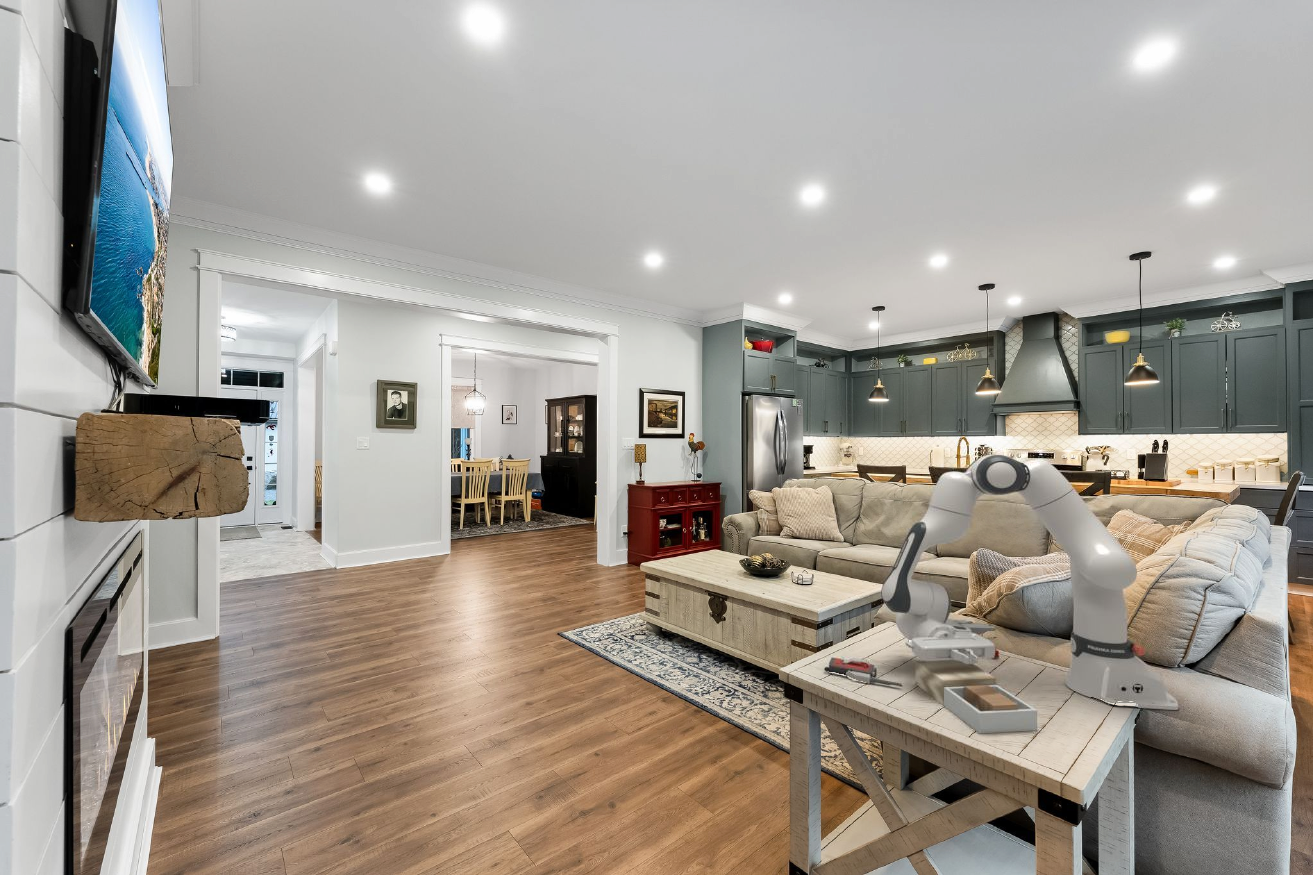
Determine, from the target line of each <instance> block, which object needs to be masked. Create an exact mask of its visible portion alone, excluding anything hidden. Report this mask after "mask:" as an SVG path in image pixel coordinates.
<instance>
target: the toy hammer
mask: <svg viewBox="0 0 1313 875" xmlns="http://www.w3.org/2000/svg"><path fill="white" fill-rule="evenodd" d="M966 620H967V619H951V618H947V620H946V622H945V624H948V625H951V626H958V627H966V628H969V629H971V632H972V633H975V634H978V635H980V634H982V633H985V632H987V631H995V630H996V631H997V627H995V626H993V625H991V624H990V625H985V624H981V623H973V622H972V621H966ZM999 658H1000V651H999V650H997V649H996V648H995V656H994V658H993V659H999Z"/></svg>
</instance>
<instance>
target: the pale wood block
mask: <svg viewBox="0 0 1313 875" xmlns="http://www.w3.org/2000/svg"><path fill="white" fill-rule="evenodd" d="M914 683H915V685H917V686H918V687H920V689H922V690H923V691H924V692H926V693H927V694H928V695H930V696H931V697H932V698H933V699H934V700H936V701H937V702H939V703H940V704H941V705H942V706H944V687H961V686H976V685H997V678H996V677H995V676H993V675H992V674H990V673H989V672H986V671H985V670H984V669H982V668H981V667H978V666H977V665H975V664H965V663H964V662H961V661H957V660H941V661H924V660H916V661H915V682H914Z"/></svg>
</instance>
